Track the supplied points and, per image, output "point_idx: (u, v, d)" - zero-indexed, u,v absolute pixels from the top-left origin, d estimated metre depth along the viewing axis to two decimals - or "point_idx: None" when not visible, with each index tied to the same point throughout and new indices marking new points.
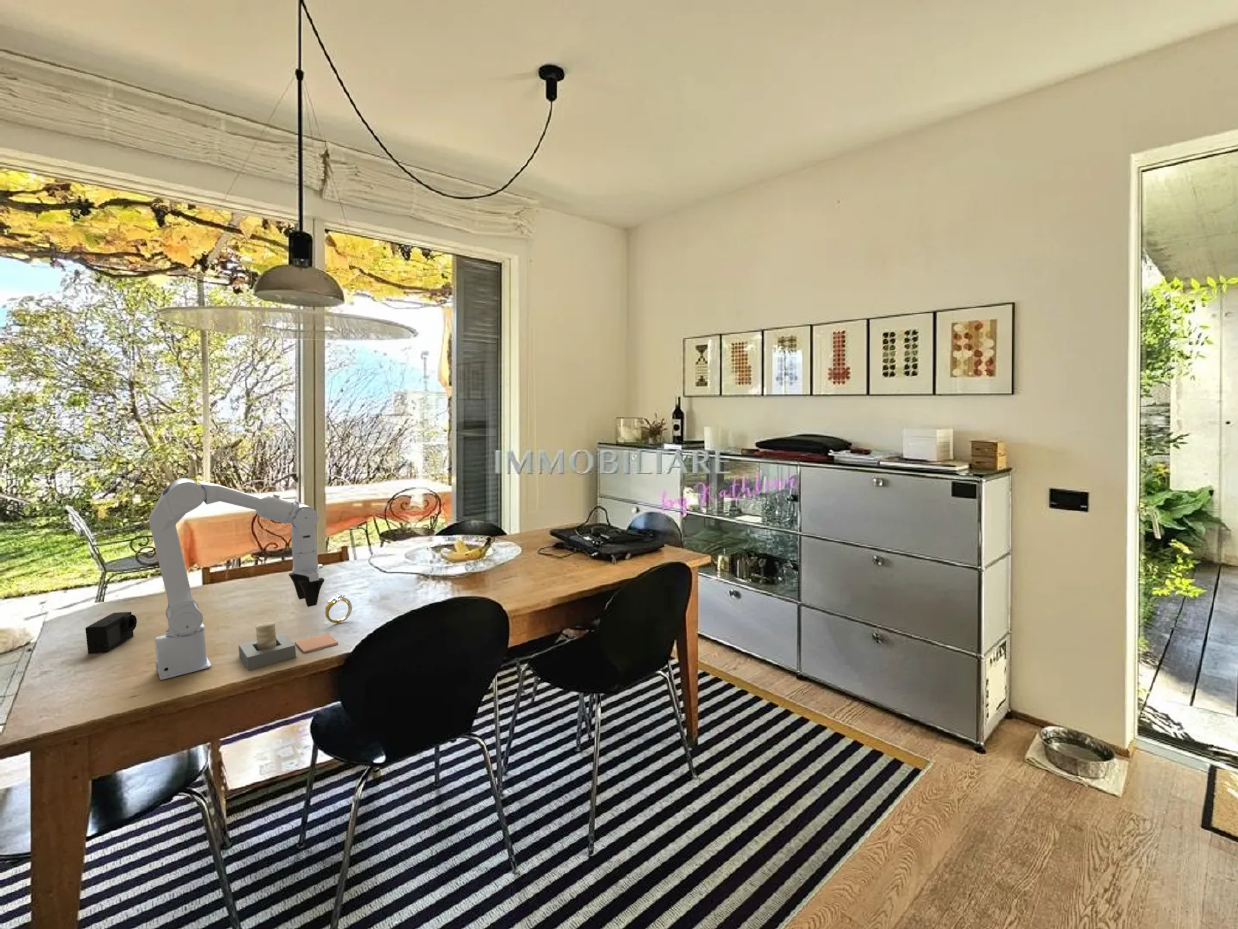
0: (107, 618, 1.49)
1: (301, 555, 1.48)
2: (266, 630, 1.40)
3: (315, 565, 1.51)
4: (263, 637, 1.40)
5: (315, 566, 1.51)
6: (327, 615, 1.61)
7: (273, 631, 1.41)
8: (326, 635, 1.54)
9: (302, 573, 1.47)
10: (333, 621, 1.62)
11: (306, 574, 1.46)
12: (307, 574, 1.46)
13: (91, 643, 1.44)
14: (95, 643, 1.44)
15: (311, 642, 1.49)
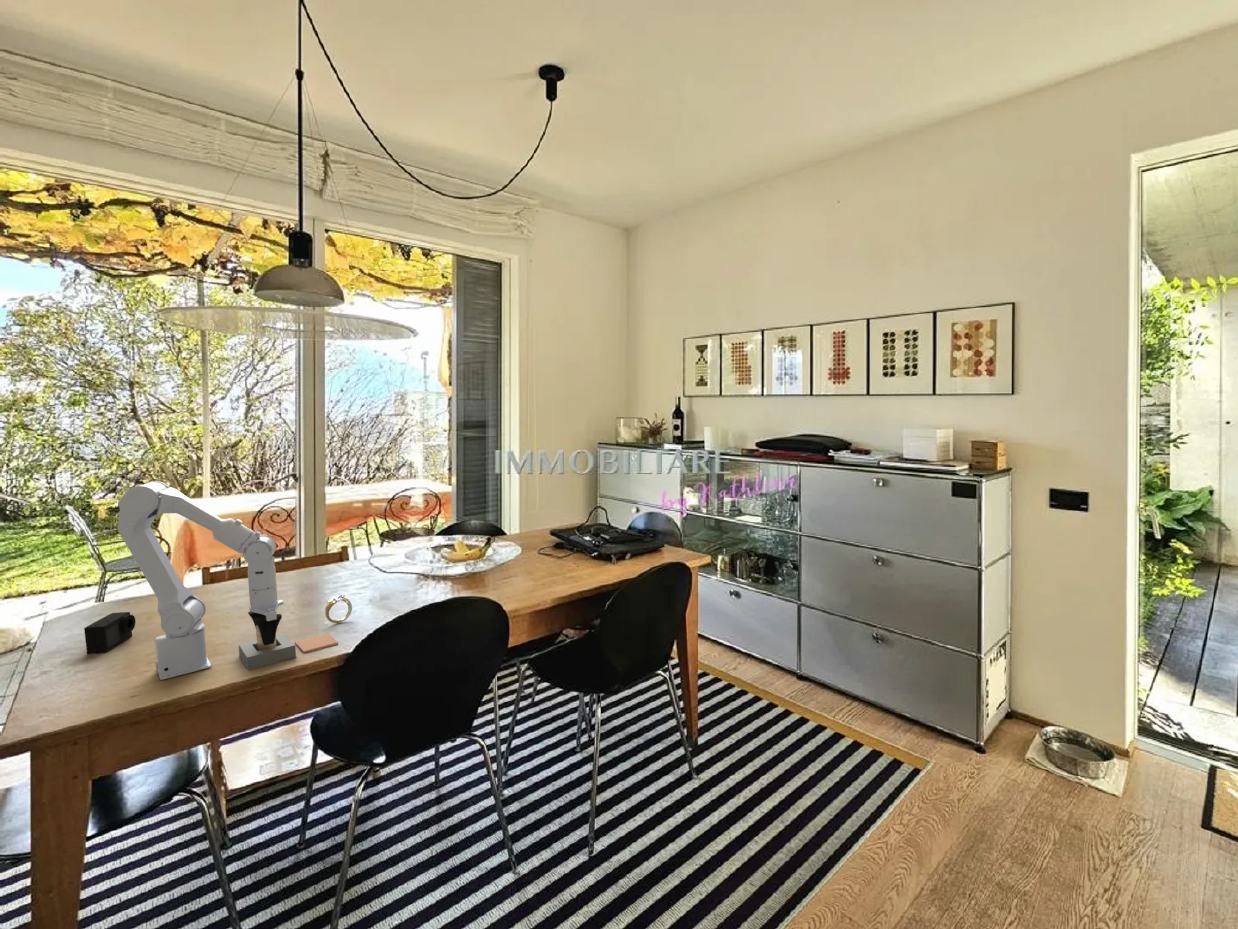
0: (106, 618, 1.49)
1: (258, 592, 1.38)
2: None
3: (274, 602, 1.40)
4: None
5: (274, 603, 1.40)
6: (327, 615, 1.61)
7: None
8: (326, 635, 1.54)
9: (259, 612, 1.37)
10: (333, 621, 1.62)
11: (263, 613, 1.36)
12: (264, 613, 1.36)
13: (90, 643, 1.44)
14: (94, 643, 1.44)
15: (311, 642, 1.49)
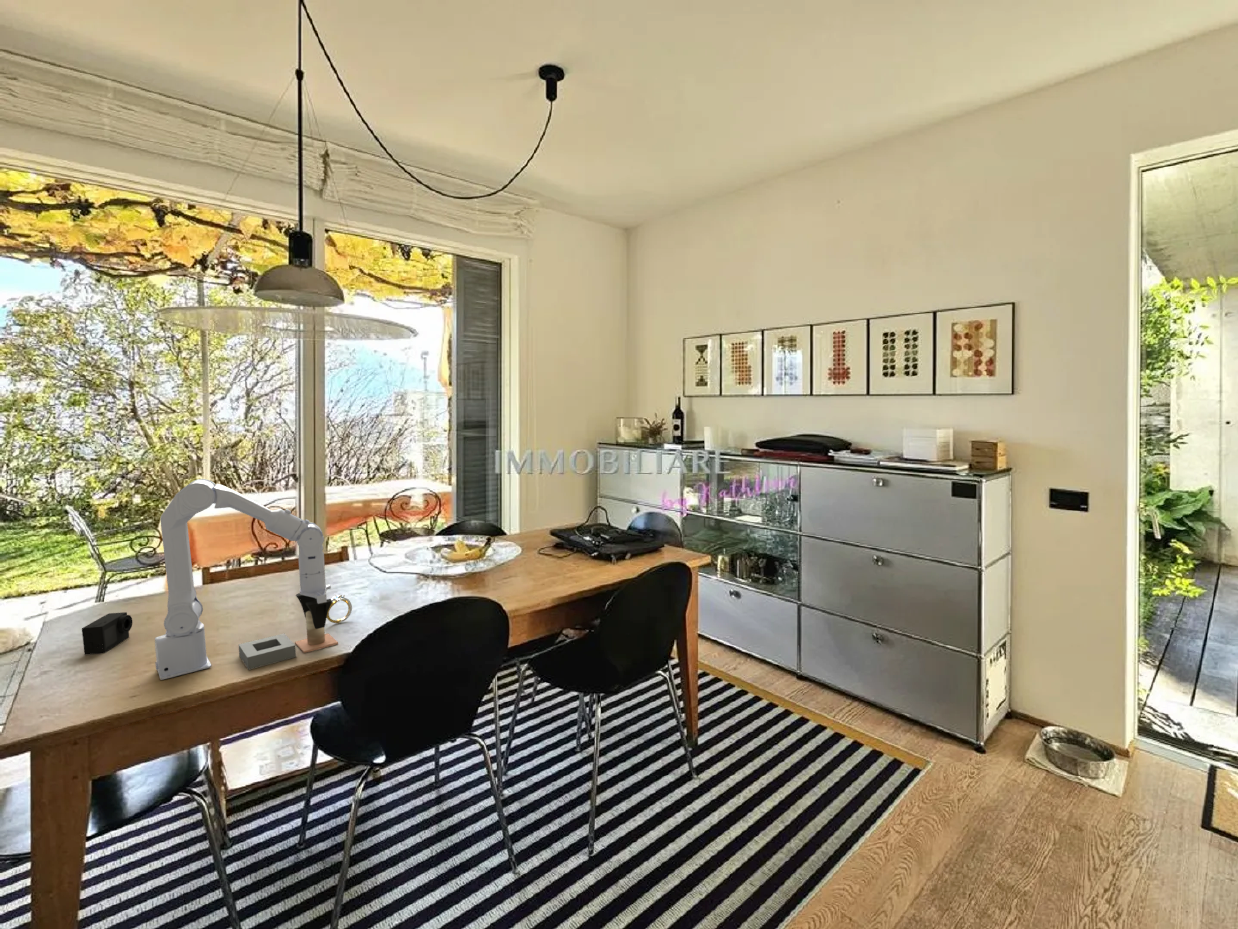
0: (103, 619, 1.49)
1: (308, 576, 1.45)
2: None
3: (323, 586, 1.48)
4: (312, 623, 1.47)
5: (323, 587, 1.48)
6: (327, 615, 1.61)
7: None
8: (326, 635, 1.54)
9: (310, 595, 1.44)
10: (333, 621, 1.62)
11: (314, 596, 1.43)
12: (315, 596, 1.43)
13: (88, 644, 1.43)
14: (92, 644, 1.44)
15: None
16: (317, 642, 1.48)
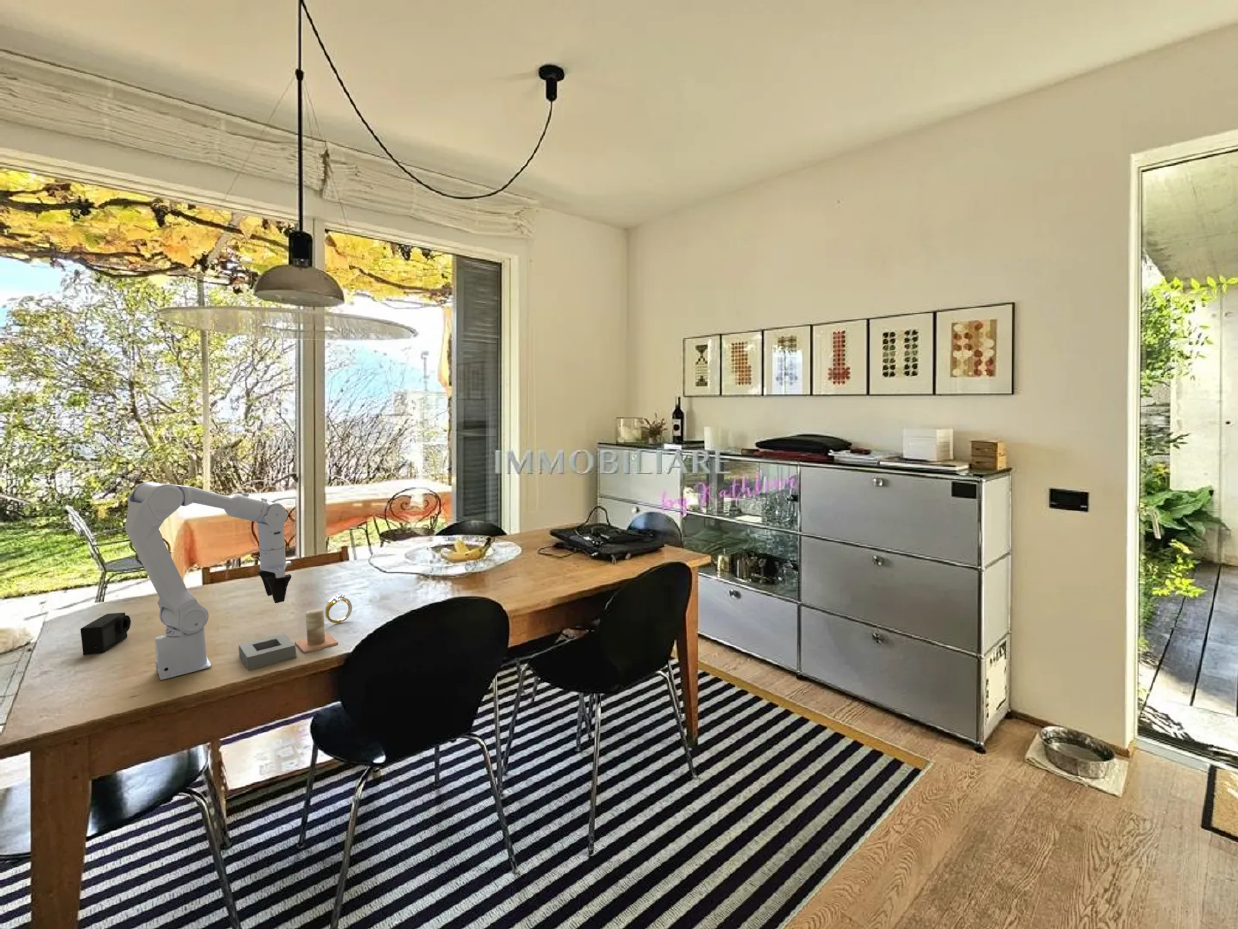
0: (101, 619, 1.48)
1: (268, 552, 1.49)
2: (315, 616, 1.47)
3: (283, 561, 1.52)
4: (312, 623, 1.47)
5: (283, 563, 1.52)
6: (327, 615, 1.61)
7: (322, 617, 1.49)
8: (326, 635, 1.54)
9: (269, 570, 1.48)
10: (333, 621, 1.62)
11: (273, 571, 1.47)
12: (274, 571, 1.47)
13: (87, 644, 1.43)
14: (90, 644, 1.43)
15: None
16: (317, 642, 1.48)
